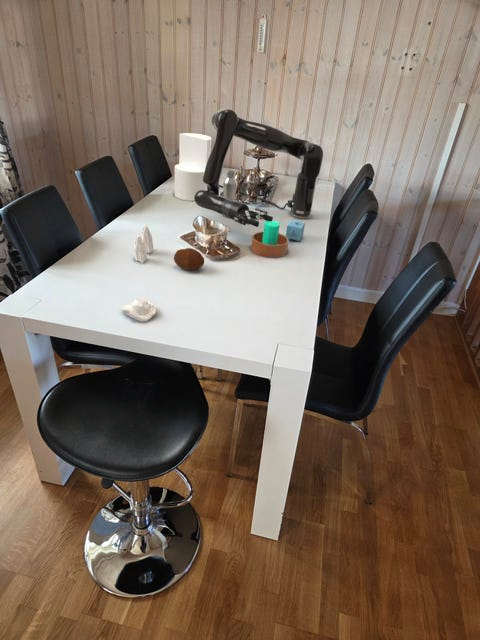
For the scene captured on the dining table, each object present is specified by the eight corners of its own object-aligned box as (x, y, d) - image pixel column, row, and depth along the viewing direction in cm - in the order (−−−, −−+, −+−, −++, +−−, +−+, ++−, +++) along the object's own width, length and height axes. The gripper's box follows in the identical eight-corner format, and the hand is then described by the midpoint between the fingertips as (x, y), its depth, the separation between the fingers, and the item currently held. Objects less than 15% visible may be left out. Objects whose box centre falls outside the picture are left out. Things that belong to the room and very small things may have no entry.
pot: (244, 244, 175) (246, 233, 173) (275, 241, 181) (277, 229, 178) (261, 259, 165) (263, 247, 162) (293, 255, 171) (295, 243, 168)
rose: (117, 308, 120) (124, 290, 128) (119, 321, 123) (125, 303, 131) (154, 310, 121) (158, 292, 129) (154, 323, 124) (158, 305, 132)
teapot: (297, 245, 179) (300, 228, 175) (283, 242, 180) (285, 225, 176) (303, 235, 189) (306, 219, 185) (289, 233, 190) (292, 216, 186)
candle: (278, 247, 174) (282, 218, 168) (274, 252, 170) (278, 223, 163) (263, 244, 176) (267, 215, 169) (259, 249, 171) (262, 220, 164)
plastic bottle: (218, 216, 200) (221, 171, 189) (224, 212, 205) (227, 168, 194) (231, 219, 198) (234, 174, 187) (237, 215, 203) (240, 171, 192)
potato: (175, 261, 157) (175, 242, 153) (205, 264, 158) (206, 245, 153) (171, 272, 150) (171, 252, 146) (203, 275, 150) (203, 255, 146)
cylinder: (190, 188, 232) (191, 131, 216) (215, 196, 224) (218, 138, 209) (167, 194, 219) (167, 135, 204) (193, 203, 212) (195, 142, 196)
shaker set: (145, 248, 164) (144, 220, 158) (156, 250, 164) (155, 222, 158) (132, 261, 154) (130, 232, 148) (143, 263, 154) (142, 234, 148)
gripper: (223, 204, 171) (254, 216, 162) (246, 197, 180) (277, 209, 172) (222, 222, 175) (252, 235, 166) (245, 215, 184) (275, 227, 176)
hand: (265, 222), depth 169 cm, fingers open, 8 cm apart
